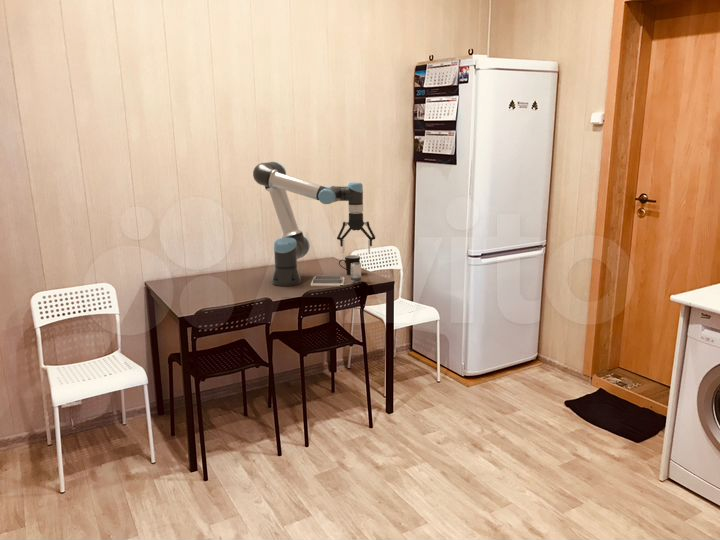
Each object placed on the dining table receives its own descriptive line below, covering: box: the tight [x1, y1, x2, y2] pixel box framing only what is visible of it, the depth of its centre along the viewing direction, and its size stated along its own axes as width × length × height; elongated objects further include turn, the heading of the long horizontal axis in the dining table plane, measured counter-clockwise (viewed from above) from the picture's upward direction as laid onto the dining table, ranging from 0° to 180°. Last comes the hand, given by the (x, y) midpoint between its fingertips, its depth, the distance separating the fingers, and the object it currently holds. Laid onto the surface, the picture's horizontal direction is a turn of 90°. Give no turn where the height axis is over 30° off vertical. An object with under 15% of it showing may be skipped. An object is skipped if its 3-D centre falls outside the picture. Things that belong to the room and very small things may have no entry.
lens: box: [350, 262, 362, 284], centre depth 306 cm, size 6×6×10 cm
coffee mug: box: [338, 254, 361, 276], centre depth 324 cm, size 12×9×10 cm
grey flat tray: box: [310, 275, 345, 287], centre depth 306 cm, size 17×16×2 cm
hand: (356, 252), depth 303 cm, fingers open, 13 cm apart
